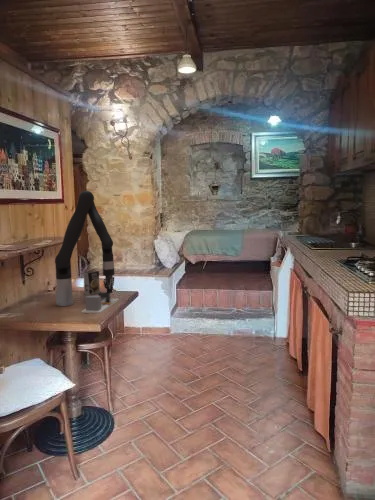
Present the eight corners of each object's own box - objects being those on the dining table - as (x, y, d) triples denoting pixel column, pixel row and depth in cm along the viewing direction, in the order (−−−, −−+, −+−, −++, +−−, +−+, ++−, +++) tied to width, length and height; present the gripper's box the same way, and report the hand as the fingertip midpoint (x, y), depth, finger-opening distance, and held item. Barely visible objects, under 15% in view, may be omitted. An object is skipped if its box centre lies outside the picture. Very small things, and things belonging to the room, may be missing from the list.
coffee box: (90, 295, 263) (88, 273, 261) (84, 294, 267) (83, 272, 265) (100, 293, 270) (99, 271, 268) (94, 291, 274) (93, 270, 272)
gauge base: (81, 312, 220) (80, 297, 219) (102, 299, 250) (101, 286, 249) (100, 313, 218) (99, 298, 217) (119, 300, 248) (118, 286, 247)
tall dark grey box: (91, 306, 228) (90, 297, 227) (99, 301, 241) (99, 292, 240) (106, 307, 226) (105, 297, 226) (114, 301, 239) (113, 292, 238)
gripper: (107, 266, 253) (108, 291, 255) (98, 269, 240) (100, 296, 242) (117, 266, 252) (118, 291, 254) (109, 269, 238) (111, 296, 240)
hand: (109, 293), depth 248 cm, fingers open, 3 cm apart
